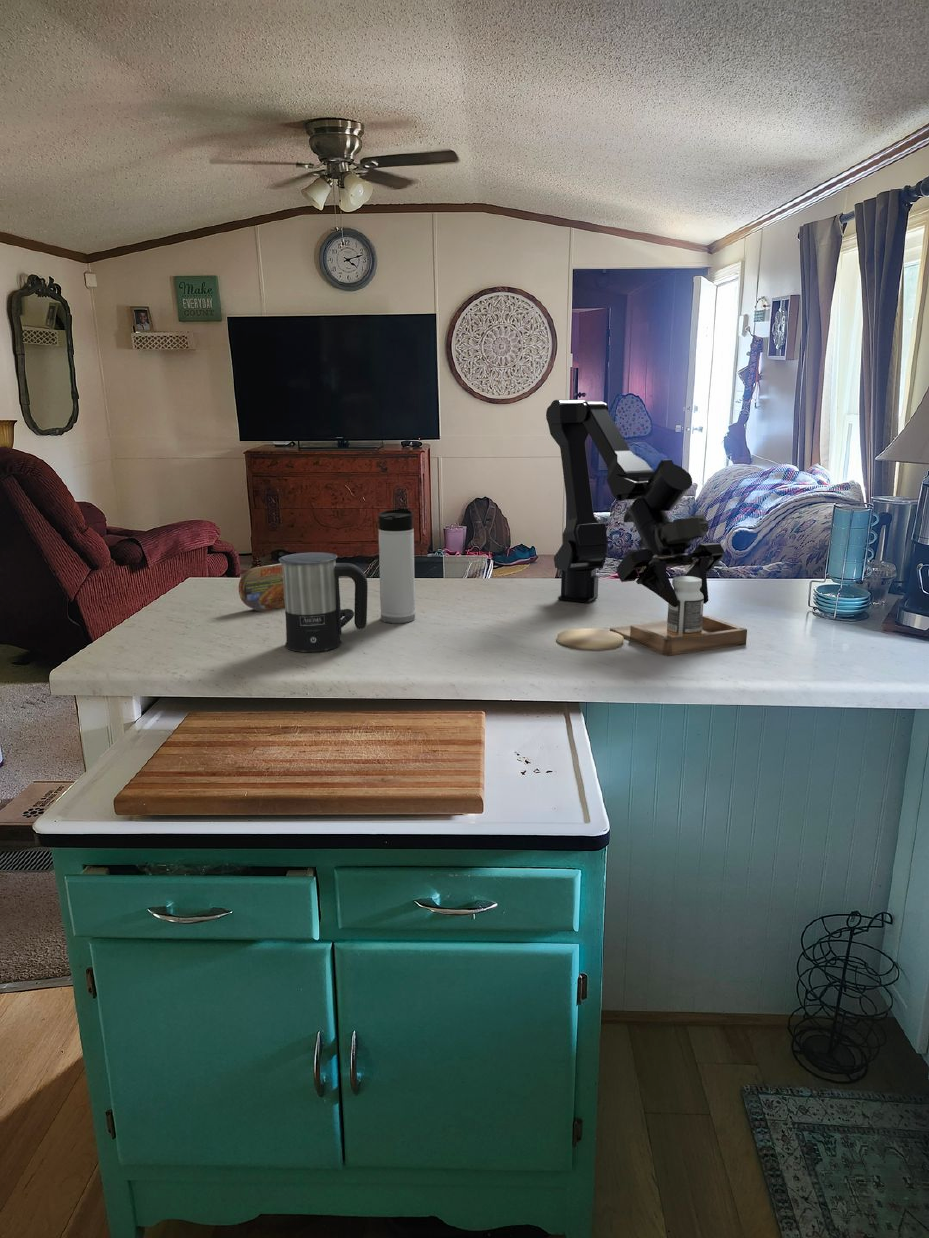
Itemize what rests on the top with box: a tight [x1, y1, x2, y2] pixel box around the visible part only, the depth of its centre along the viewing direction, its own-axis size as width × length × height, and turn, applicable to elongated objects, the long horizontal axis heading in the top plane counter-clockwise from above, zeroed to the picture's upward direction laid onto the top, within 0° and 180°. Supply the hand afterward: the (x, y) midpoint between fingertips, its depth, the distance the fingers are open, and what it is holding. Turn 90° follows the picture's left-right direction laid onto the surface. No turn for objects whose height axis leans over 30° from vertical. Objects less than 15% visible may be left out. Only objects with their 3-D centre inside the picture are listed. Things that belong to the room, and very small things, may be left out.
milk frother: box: [278, 551, 369, 653], centre depth 146 cm, size 14×16×15 cm
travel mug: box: [377, 507, 416, 624], centre depth 158 cm, size 6×7×20 cm
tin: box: [238, 563, 285, 612], centre depth 169 cm, size 15×3×8 cm, turn 129°
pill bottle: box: [666, 575, 704, 638], centre depth 145 cm, size 6×6×10 cm
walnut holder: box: [609, 615, 748, 657], centre depth 148 cm, size 16×16×2 cm
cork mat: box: [556, 627, 624, 651], centre depth 146 cm, size 11×11×1 cm
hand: (691, 604), depth 143 cm, fingers closed on pill bottle, 6 cm apart
